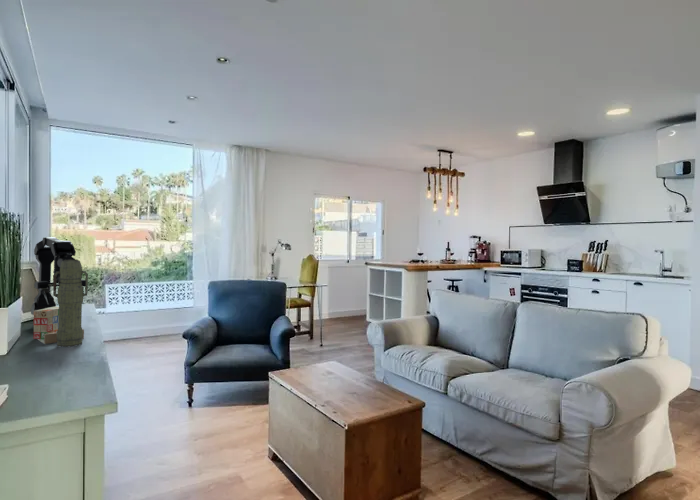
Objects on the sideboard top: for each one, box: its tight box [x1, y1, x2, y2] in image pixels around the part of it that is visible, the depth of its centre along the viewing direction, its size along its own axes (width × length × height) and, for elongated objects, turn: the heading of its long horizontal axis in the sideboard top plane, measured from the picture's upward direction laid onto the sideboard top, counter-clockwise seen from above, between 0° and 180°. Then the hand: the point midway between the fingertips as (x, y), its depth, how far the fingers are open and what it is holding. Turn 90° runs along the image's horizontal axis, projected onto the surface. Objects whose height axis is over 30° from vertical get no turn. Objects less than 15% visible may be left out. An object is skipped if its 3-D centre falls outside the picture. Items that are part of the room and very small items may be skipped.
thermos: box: [52, 259, 89, 348], centre depth 169 cm, size 9×12×35 cm
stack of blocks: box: [32, 306, 59, 340], centre depth 187 cm, size 21×6×12 cm, turn 179°
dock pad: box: [37, 328, 85, 345], centre depth 178 cm, size 11×14×4 cm
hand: (61, 303), depth 184 cm, fingers open, 9 cm apart
